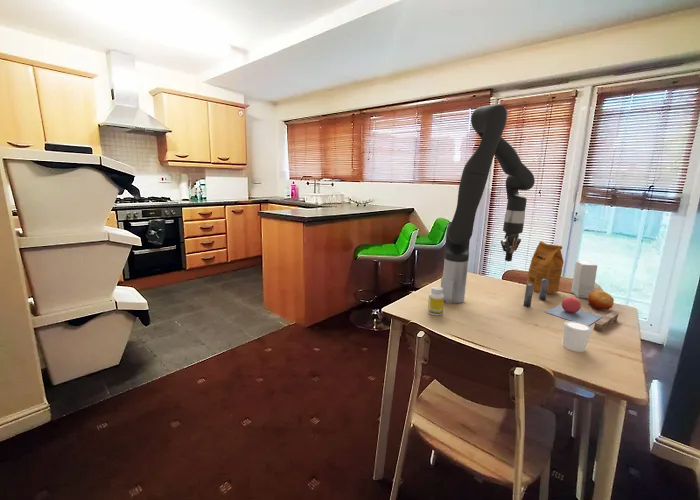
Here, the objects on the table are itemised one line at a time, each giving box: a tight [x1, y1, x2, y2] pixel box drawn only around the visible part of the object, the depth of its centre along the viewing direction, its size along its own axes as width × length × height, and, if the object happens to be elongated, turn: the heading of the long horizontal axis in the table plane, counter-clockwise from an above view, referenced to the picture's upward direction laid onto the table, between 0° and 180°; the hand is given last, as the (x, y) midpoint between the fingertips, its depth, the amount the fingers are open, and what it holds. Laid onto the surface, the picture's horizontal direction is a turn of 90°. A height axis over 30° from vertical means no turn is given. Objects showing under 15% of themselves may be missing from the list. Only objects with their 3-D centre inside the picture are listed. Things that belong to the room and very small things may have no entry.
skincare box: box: [570, 260, 598, 299], centre depth 140 cm, size 8×6×15 cm
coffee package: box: [526, 240, 564, 295], centre depth 145 cm, size 10×12×22 cm
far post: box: [538, 278, 549, 302], centre depth 135 cm, size 3×3×9 cm
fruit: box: [587, 290, 615, 311], centre depth 127 cm, size 8×8×8 cm
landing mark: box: [544, 303, 603, 327], centre depth 121 cm, size 14×14×1 cm
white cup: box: [562, 320, 593, 353], centre depth 97 cm, size 7×7×7 cm
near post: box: [522, 283, 534, 308], centre depth 127 cm, size 3×3×9 cm
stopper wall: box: [593, 311, 619, 332], centre depth 113 cm, size 16×2×2 cm, turn 126°
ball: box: [561, 296, 582, 313], centre depth 122 cm, size 6×6×6 cm
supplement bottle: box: [427, 286, 445, 316], centre depth 119 cm, size 5×5×10 cm
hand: (508, 260), depth 139 cm, fingers closed
